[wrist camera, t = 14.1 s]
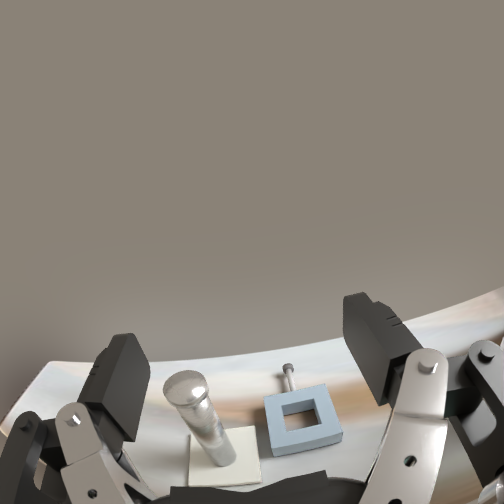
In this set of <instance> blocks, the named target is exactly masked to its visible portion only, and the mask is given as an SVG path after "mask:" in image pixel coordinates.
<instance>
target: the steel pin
mask: <svg viewBox="0 0 504 504" xmlns="http://www.w3.org/2000/svg"><path fill="white" fill-rule="evenodd" d="M208 391H209V388H208V384H207V382H206V380H205V378H204V376H203V375H202V374H201V373H199V372H197V371H192V370H186V371H181V372H178V373H176V374H174V375H172V376H171V377H170V378H169V379H168V380H167V381H166V382H165V384H164V387H163V393H164V396H165V397H166V399H167V401H168V402H169V403H170V404H171V405H172V406H173V407H176V409H177V410H178V412H179V413H180V415H181V417H182V418H183V420H184V421H185V423H186V425H187V426H188V428H189V429H190V431H191V432H192V434H193V435H194V437H195V438H196V440H197V441H198V443H199V444H200V446H201V447H202V449H203V450H204V452H205V453H206V454H207V456H208V457H209V459H210V460H211V461H212V463H213V464H214V465H216V466H219V467H227V466H230V465H231V464H233V463H234V462H235V460H236V457H237V454H236V452H235V450H234V448H233V446H232V444H231V442H230V440H229V438H228V436H227V434H226V432H225V430H224V428H223V426H222V424H221V422H220V420H219V418H218V416H217V413H216V411H215V409H214V407H213V405H212V403H211V400H210V398H209V396H208Z"/></svg>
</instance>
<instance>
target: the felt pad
mask: <svg viewBox="0 0 504 504" xmlns="http://www.w3.org/2000/svg"><path fill="white" fill-rule="evenodd" d="M224 430H225V432H226V434H227V436H228V438H229V440H230V442H231V444H232V446H233V448H234V450H235V452H236V454H237V457H236V460H235V462H234V463H233V464H231V465H230V466H227V467H219V466H216V465H214V464H213V463H212V461H211V460H210V459H209V457H208V456H207V454H206V453H205V452H204V450H203V449H202V447H201V446H200V444H199V443H198V441H197V440H196V438H195V437H194V435H193V434H192V432H191V443H190V461H189V483H188V485H189V486H190V487H218V486H234V485H245V484H254V483H262V478H261V470H260V462H259V454H258V446H257V438H256V429H255V425H254V426H247V427H240V428H231V429H224Z"/></svg>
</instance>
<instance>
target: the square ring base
mask: <svg viewBox="0 0 504 504" xmlns="http://www.w3.org/2000/svg"><path fill="white" fill-rule="evenodd" d="M293 371H294V369H293V365H292V364H290V363H287V364H285V365H283V372H284V373H285V374H287V378H288V382H289V386H290V390H291V392H286V393H281V394H276V395H270V396H265V397H264V404H265V410H266V417H267V423H268V430H269V436H270V442H271V449H272V452H273V456H274V457H276V456H281V455H287V454H292V453H297V452H302V451H306V450H310V449H315V448H319V447H323V446H326V445H330V444H334V443H337V442H341V441H342V435H343V431H342V428H341V425H340V422H339V420H338V417H337V414H336V411H335V409H334V406H333V403H332V401H331V398H330V395H329V393H328V390H327V387H326V385H325V384H321V385H317V386H313V387H309V388H304V389H300V390H297V389H296V385H295V381H294V378H293V374H292V372H293ZM311 409H314V410H315V413H316V417H317V420H318V423H319V424H318V425H314V426H310V427H306V428H302V429H297V430H292V431H286V427H285V422H284V417H283V416H284V415H289V414H293V413H298V412H303V411H307V410H311Z"/></svg>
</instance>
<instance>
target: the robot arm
mask: <svg viewBox="0 0 504 504" xmlns="http://www.w3.org/2000/svg"><path fill="white" fill-rule="evenodd" d="M343 334H344V339H345V342H346V344H347V346H348V348H349V350H350V352H351V354H352V356H353V358H354V360H355V361H356V363H357V365H358V367H359V369H360V371H361V373H362V375H363V377H364V379H365V380H366V382H367V384H368V386H369V388H370V390H371V392H372V394H373V396H374V398H375V400H376V402H377V404H378V406H382V405H384V404H387V403H389V404H390V406H391V408H392V410H391V413H390V416H389V420H388V423H387V426H386V429H385V432H384V435H383V437H382V440H381V443H380V446H379V448H378V451H377V454H376V456H375V459H374V461H373V463H372V466H371V468H370V470H369V472H368V475H367V477H366V479H365V481H364V482H362V481H358V480H354V479H349V478H338V477H329V478H327V475H326V471H325V470H323V471H319V472H315V473H311V474H306V475H301V476H297V477H292V478H286V479H284V480H281V481H279V482H276V483H273V484H271V485H268V486H265V487H262V488H260V489H257V490H254V491H251V492H236V491H228V490H222V489H216V488H211V487H175V486H171V488H170V495H166V496H163V497H160V498H158V497H157V496H156V495H155V494H154V493H153V492H152V491H151V490H150V489H149V488H148V486H147V485H146V484H145V482H144V481H143V479H142V478H141V476H140V475H139V473H138V471H137V470H136V468H135V467H134V465H133V463H132V462H131V460H130V458H129V457H128V455H127V453H126V451H125V450H124V449H123V448H122V445H123V441H126V442H135V439H136V434H137V430H138V425H139V421H140V416H141V412H142V408H143V403H144V399H145V395H146V391H147V387H148V383H149V379H150V366H149V363H148V360H147V358H146V356H145V354H144V353H143V350H142V348H141V346H140V344H139V342H138V341H137V338H136V336H135V335H134V334H133V333H127V334H118V335H114V336H113V338H112V340H111V342H110V344H109V346H108V348H105V349H104V350H103V351H102V352H101V353H100V354H99V355H98V357H97V358H96V361H95V362H94V365H93V368H92V369H91V371H90V373H89V374H90V375H89V376H88V377H87V380H86V382H85V384H84V386H83V388H82V391H81V393H80V395H79V398H78V400H77V402H74V403H70V404H67V405H66V406H64V407H63V408H62V409H61V410H60V411H59V412H58V414H57V416H56V418H54V419H48V420H43V421H42V420H41V418H40V417H39V416H38V415H37V414H36V413H35V412H32V411H27V412H24V413H22V414H21V415H20V416H19V417H18V418H17V419H16V420H15V422H14V425H13V427H12V429H11V432H10V434H9V436H8V439H7V442H6V444H5V447H4V449H3V452H2V455H1V457H0V504H429V502H430V499H431V496H432V493H433V489H434V486H435V482H436V479H437V475H438V471H439V467H440V463H441V459H442V454H443V449H444V444H445V439H446V433H447V426H448V422H447V419H444V418H446V417H448V418H449V420H450V422H451V423H452V425H453V427H454V429H455V431H456V433H457V435H458V437H459V439H460V441H461V442H462V444H463V446H464V448H465V450H466V452H467V454H468V457H469V459H470V461H471V463H472V465H473V467H474V469H475V471H476V474H477V476H478V478H479V480H480V482H481V485H482V487H483V490H482V492H481V494H480V496H479V501H478V504H504V337H503V340H502V342H501V345H500V347H499V346H498V345H497V344H495V343H494V342H491V341H488V340H480V341H477V342H475V343H473V344H472V345H471V347H470V349H469V351H468V354H467V355H463V356H456V357H450V358H446V357H445V356H444V355H443V354H442V353H441V352H439V351H437V350H434V349H430V348H423V347H422V345H421V344H420V343H419V342H418V340H417V339H416V338H415V337H414V336H413V334H412V333H411V332H410V331H409V329H408V328H407V327H406V326H405V325H404V324H403V323H402V321H401V320H400V319H399V318H398V317H397V316H396V314H395V313H394V312H393V311H392V309H391V308H390V307H388V306H386V305H385V304H383V303H381V302H379V301H378V302H375V303H373V302H372V301H371V300H370V298H369V297H368V296H367V295H366V293H364V292H361V293H357V294H353V295H348V296H345V297H344V299H343ZM489 408H490V409H491V410H492V411H493V413H494V415H495V417H496V419H495V417H494V415H493V414H492V412H491V411H490V409H489ZM39 458H40V459H41V460H42V461H44V462H45V463H46V464H47V466H46V471H45V474H44V478H43V481H42V486H41V490H39V489H37V488H36V486H35V484H34V480H33V477H34V473H35V469H36V466H37V463H38V460H39Z"/></svg>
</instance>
